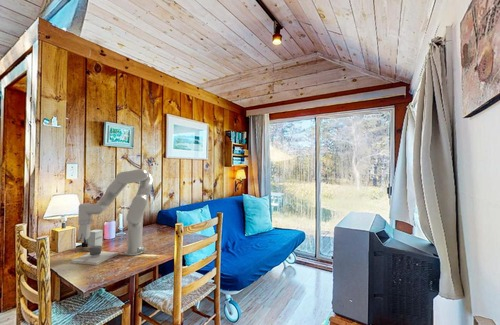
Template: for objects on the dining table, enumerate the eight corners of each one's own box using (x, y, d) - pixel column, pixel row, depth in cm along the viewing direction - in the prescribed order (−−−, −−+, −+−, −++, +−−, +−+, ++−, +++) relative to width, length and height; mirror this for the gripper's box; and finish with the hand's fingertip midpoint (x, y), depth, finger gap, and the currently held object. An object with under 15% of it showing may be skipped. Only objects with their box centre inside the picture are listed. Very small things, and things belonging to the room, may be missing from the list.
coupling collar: (102, 251, 160) (103, 245, 160) (98, 255, 153) (98, 248, 153) (78, 252, 157) (78, 246, 157) (72, 255, 151) (73, 249, 151)
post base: (117, 254, 163) (117, 250, 163) (95, 265, 145) (95, 260, 145) (93, 252, 166) (93, 248, 166) (68, 263, 148) (68, 258, 148)
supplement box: (94, 249, 173) (95, 232, 173) (86, 248, 175) (86, 231, 175) (102, 246, 180) (103, 229, 181) (94, 245, 182) (95, 229, 182)
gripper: (82, 220, 164) (81, 246, 163) (74, 224, 150) (74, 253, 149) (94, 219, 166) (94, 245, 166) (88, 223, 152) (87, 252, 152)
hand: (84, 249), depth 158 cm, fingers closed
